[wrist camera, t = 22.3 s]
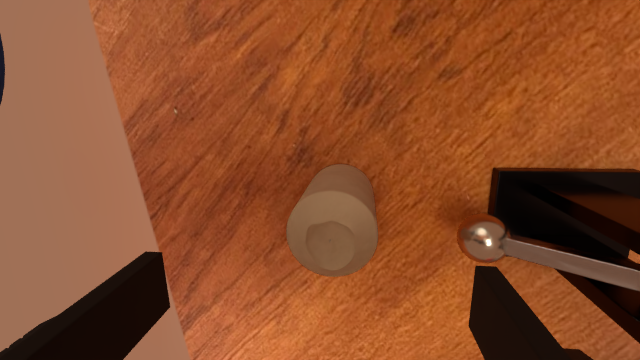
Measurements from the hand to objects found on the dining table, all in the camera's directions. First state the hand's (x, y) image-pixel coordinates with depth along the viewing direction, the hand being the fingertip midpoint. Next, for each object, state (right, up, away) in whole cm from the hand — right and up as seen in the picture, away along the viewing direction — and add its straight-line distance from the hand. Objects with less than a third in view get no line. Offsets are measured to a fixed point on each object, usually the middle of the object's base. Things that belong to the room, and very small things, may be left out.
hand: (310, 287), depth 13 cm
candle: (+2, +3, +14) cm, 15 cm away
